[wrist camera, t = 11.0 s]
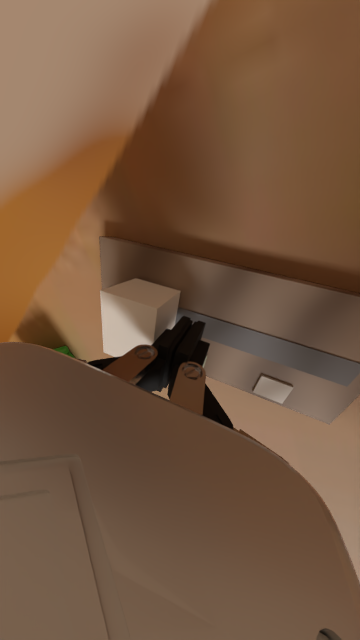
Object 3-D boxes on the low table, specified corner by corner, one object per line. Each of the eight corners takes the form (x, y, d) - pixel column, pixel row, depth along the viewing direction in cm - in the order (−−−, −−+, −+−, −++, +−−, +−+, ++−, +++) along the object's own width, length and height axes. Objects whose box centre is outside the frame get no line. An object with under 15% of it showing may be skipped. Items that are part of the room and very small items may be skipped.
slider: (180, 291, 13) (157, 308, 10) (171, 342, 16) (149, 371, 12) (135, 278, 14) (100, 290, 11) (133, 329, 16) (103, 352, 13)
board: (415, 306, 10) (443, 317, 9) (322, 408, 15) (330, 426, 14) (111, 236, 15) (97, 236, 14) (113, 329, 20) (103, 336, 19)
